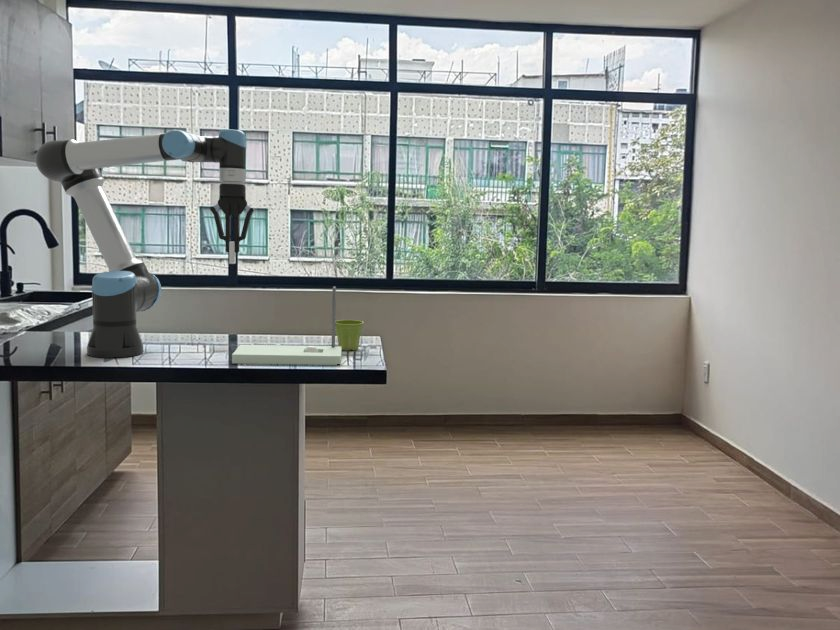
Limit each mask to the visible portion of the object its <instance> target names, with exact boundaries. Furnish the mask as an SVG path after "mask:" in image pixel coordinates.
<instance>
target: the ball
mask: <svg viewBox="0 0 840 630" xmlns="http://www.w3.org/2000/svg"><path fill="white" fill-rule="evenodd" d="M307 346H308V347H307V348H306V349H305V352H316V353H318V349H317V348H316V347H315V346H316V345H307Z"/></svg>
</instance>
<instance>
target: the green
mask: <svg viewBox="0 0 840 630" xmlns="http://www.w3.org/2000/svg"><path fill="white" fill-rule="evenodd" d="M336 293H337V287H336V286H333V287H332V293H331V294H332V295H331V296H332V298H331V300H332V301H331V303H332V304H331V345H314V346H315V347H316V348H317V349H318V353H316V352H305V349H306V348H307V347H308V346H309V345H281V344H280V345H279V344H277V345H276V344H275V345H274V344H273V345H272V344H240V345H239V346H238V347H237V348H236V349H235V351H234V352H233V353H232V354H231V363H232V364H246V365H247V364H249V365H250V364H251V365H252V364H254V365H257V364H258V365H263V364H264V365H314V366H315V365H317V366H319V365H320V366H321V365H322V366H323V365H324V366H326V365H327V366H338V365H337V364H342V363H341V362H342V354H343V353H342V351H343V350H342V346H338V345H337V346H336V327H335V321H336V310H337V309H336V306H337V304H336V303H337V302H336V301H337V300H336V299H337V297H336V296H337V294H336Z"/></svg>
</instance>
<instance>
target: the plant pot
mask: <svg viewBox="0 0 840 630" xmlns="http://www.w3.org/2000/svg"><path fill="white" fill-rule="evenodd" d="M363 325H364V321H363V320H357V319H356V320H355V319H340V320H339V319H338V320H335V332H336V337H337V344H338V345H337V346H342V351H346V350H348V351H351V350H352V351H357V350H359V345H360V339H361V332H362V329H363Z"/></svg>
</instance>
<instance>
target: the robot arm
mask: <svg viewBox="0 0 840 630" xmlns="http://www.w3.org/2000/svg"><path fill="white" fill-rule="evenodd" d="M218 133H219V134H218V135H217V136H208V135H207V136H205V135H203V136H202V135H198V134H195V133H190V132H187V131H185V130H181V129H172V130H169V131H168V132H164V133H153V134H145V135H137V136H127V137H120V138H118V137H116V138H110V139H109V138H108V139H102V140H92V141H82V142H79V141H77V140H75V139H66V140H49V141H46V142H44V143H43V144H42V145H40V147H38V149H37V151H36V153H35V165H36V167H37V169H38V171H39V172H40V173H41V174H42V175H43V177H45V178H47V179H48V180H51V181H55V182H59V183H60V184H61V186H62V188H63V189H64V192H65V194H66V195H68V196H70V197H72V198H73V199H74V200H75V202H76V205H77V207H78V209H79V211H80V213H81V215H82V217H83V219H84V222H85V223H86V225H87V227H88V229H89V231H90V232H89V233H91V236H92V238H93V240H94V242H95V244H96V245H97V248H98V250H99V252H100V254H101V256H102V258H103V261H104V262H105V265H106V267H107V269H108V271H103V272H99V273H97V274H95V275H94V276H93V277H92V285H91V297H92V300H91V301H92V302H91V303H92V330H91V334H90V336H89V340H88V342H87V346H86V354H88V356H89V355H90V356H89V357H94V358H107V359H108V358H109V359H111V358H113V359H114V357H116V358H126V357H127V358H129V357H134V356H139V355H141V354H144V344H143V341H142V338H141V335H140V332H139V330H138V328H137V313H140V312H145V311H147V310H149V309H151V308H153V307H155V306H156V304H157V303H158V302H159V301H160V298H161V296H162V285H161V282H160V280H159V278H158V277H157V276H156V275H155V274H153V273H151V272H149V270H148V268H147V266H146V264H145V262H144V261H143V260H139V259H137V257H136V255H135V253H134V251H133V249H132V246H131V244H130V242H129V241H128V238H127V236H126V234H125V232H124V231H123V228H122V226H121V223H120V222H119V221H120V220H119V219H118V217H117V216H116V213H115V211H114V209H113V207H112V205H111V203H110V201H109V199H108V197H107V195H106V193H105V190H104V188H103V185H104V183H105V178H104V176H103V170H104V169H105V168H112V167H113V168H114V167H122V166H130V165H131V166H133V165H141V164H147V163H148V164H149V163H156V162H159V163H160V162H166V161H168V162H169V161H170V162H171V161H178V160H180V161H182V162H185V163H187V162H188V163H192V164H193V163H216V164H217V163H219V170H218V171H219V176H218V177H219V179H218V180H219V183H220V184H219V186H218V187H219V198H218V200H217V204H215V205H213V206H210V207H209V209H210V211H211V213H212V215H213V217H214V221H215V226H216V229H217V234H218V238H219V240H223V241H224V242H225V253H228V255H229V256H228V260H229V261H228V263H229V265H235V264H236V263H237V262H236V260H237V258H236V256H237V253H240V242H241V241H243V240H245V239H246V238H247V234H248V230H249V227H250V222H251V218H252V215H253V214H254V212H255V208H254V207H251V206H250V205H249V204H248V202H247V199H246V198H247V197H246V194H247V192H246V189H247V188H246V187H247V186H246V185H245V183H246V181H247V179H246V177H247V176H246V174H247V173H246V171H247V169H246V164H247V163H246V161H247V158H246V156H247V155H246V154H247V144H246V133H245V132H244V131H243V130H239V129H231V128H230V129H228V128H226V129H225V128H224V129H223V128H222V129H220V130H219V132H218ZM220 210H221V211H222V212H223V214H224V218H225V220H224V221H225V225H224V227H225V230H224V228H223V224H222V220H221V217H220V213H219V212H220ZM244 211H245V214H246V215H245V218H244V222H243V225H242V229H241V227H240V226H241V225H240V219H241V214H243V212H244ZM232 216H233V219H234V220H233V223H234V224H233V225H234V226H233V230H234V232H233V237H234V239H233V241H232V239H231V238H232V237H231V236H232V235H231V234H232ZM240 229H241V231H240ZM240 232H241V233H240Z"/></svg>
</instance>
